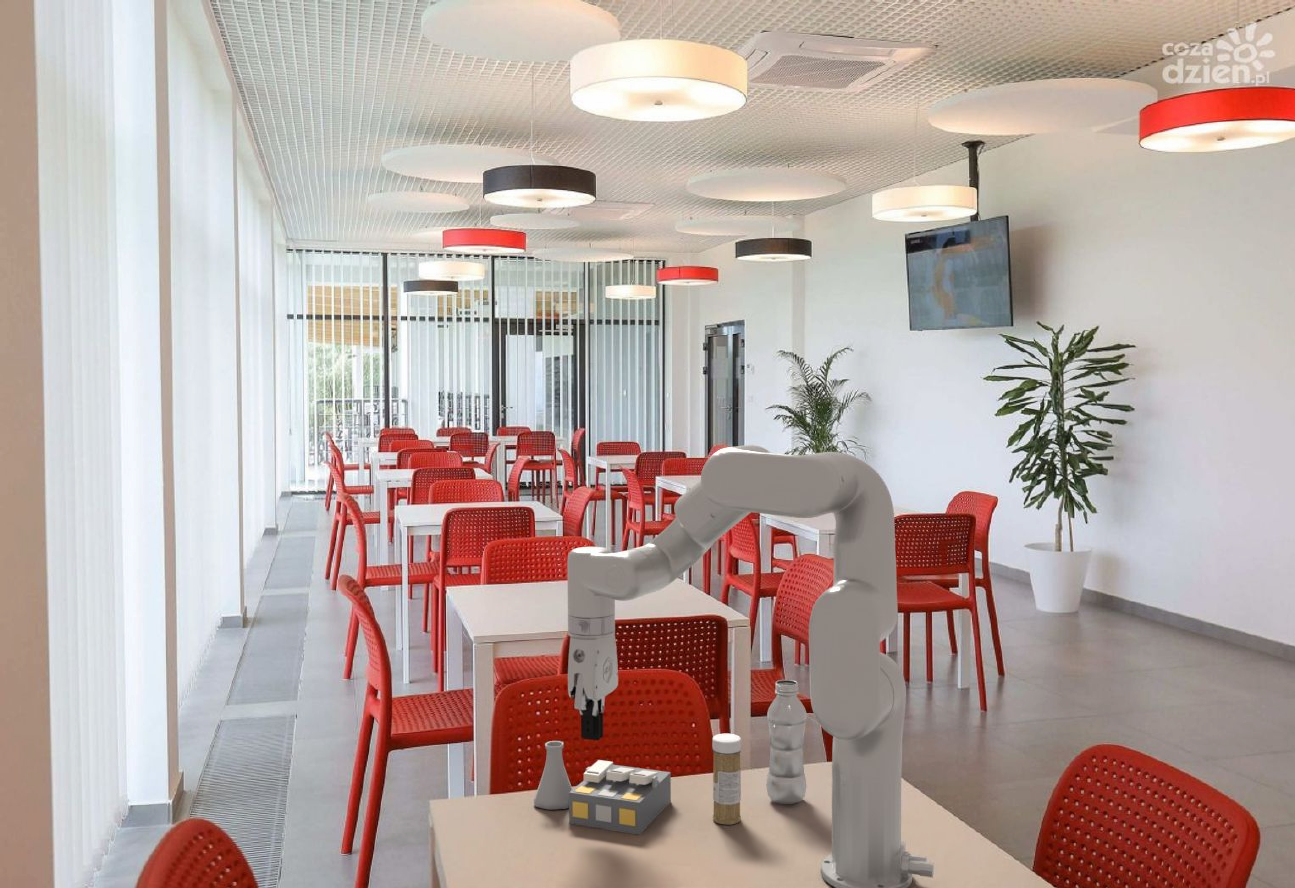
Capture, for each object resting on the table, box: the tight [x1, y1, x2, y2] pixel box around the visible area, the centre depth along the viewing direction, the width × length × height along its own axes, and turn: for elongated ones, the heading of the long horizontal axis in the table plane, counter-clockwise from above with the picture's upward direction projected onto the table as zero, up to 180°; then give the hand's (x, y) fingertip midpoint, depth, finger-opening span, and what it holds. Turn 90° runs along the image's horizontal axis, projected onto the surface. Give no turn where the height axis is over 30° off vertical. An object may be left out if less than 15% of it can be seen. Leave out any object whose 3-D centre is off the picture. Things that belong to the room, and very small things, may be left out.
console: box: [568, 764, 672, 836], centre depth 170 cm, size 12×14×7 cm
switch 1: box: [583, 759, 614, 783], centre depth 171 cm, size 3×6×1 cm, turn 159°
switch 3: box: [629, 770, 658, 785], centre depth 168 cm, size 3×6×1 cm, turn 159°
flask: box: [533, 740, 574, 810], centre depth 174 cm, size 7×7×10 cm
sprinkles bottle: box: [711, 732, 742, 825], centre depth 166 cm, size 5×5×14 cm
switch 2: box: [606, 767, 636, 781], centre depth 170 cm, size 3×6×1 cm, turn 159°
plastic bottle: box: [766, 679, 808, 805], centre depth 174 cm, size 6×7×20 cm
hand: (592, 737), depth 168 cm, fingers closed
